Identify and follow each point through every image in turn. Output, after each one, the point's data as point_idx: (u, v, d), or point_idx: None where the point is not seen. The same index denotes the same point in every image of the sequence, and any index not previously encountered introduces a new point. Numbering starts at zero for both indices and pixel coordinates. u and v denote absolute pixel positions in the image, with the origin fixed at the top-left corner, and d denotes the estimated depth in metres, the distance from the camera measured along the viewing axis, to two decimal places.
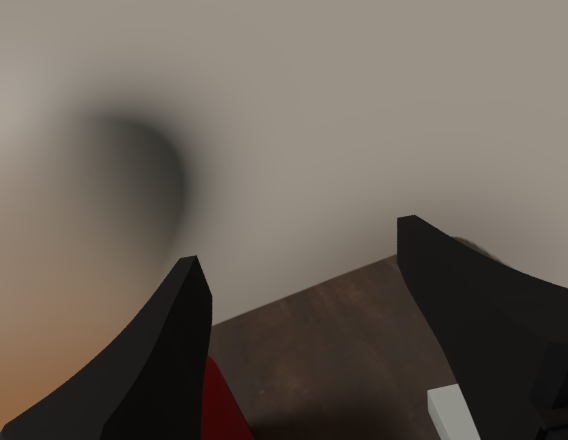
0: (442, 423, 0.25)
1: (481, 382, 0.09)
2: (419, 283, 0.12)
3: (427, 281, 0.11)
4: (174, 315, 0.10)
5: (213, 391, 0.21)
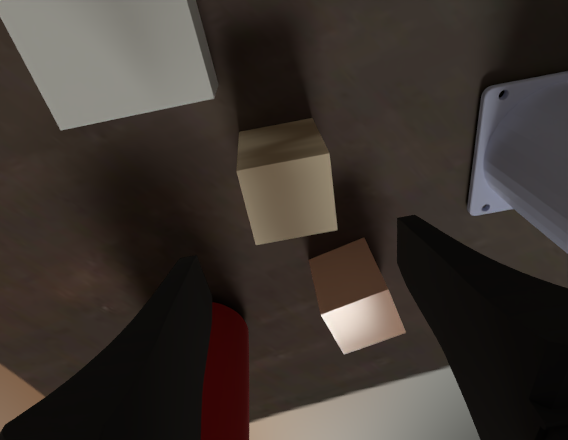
0: (113, 118, 0.16)
1: (481, 382, 0.09)
2: (419, 283, 0.12)
3: (427, 281, 0.11)
4: (174, 315, 0.10)
5: None
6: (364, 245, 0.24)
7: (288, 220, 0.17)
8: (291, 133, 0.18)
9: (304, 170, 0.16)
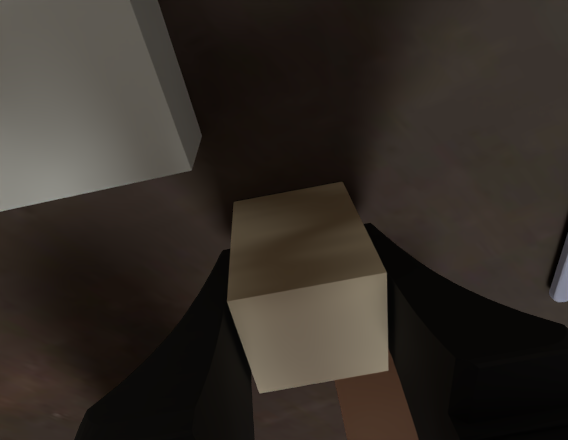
0: (26, 203, 0.10)
1: (418, 393, 0.09)
2: None
3: None
4: None
5: None
6: None
7: (311, 361, 0.11)
8: (314, 214, 0.12)
9: (342, 297, 0.09)
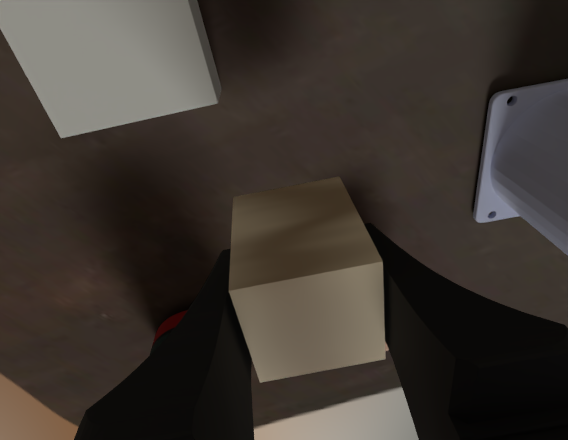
0: None
1: (418, 393, 0.09)
2: None
3: None
4: (228, 305, 0.10)
5: None
6: None
7: (310, 350, 0.11)
8: (312, 207, 0.12)
9: (340, 286, 0.10)
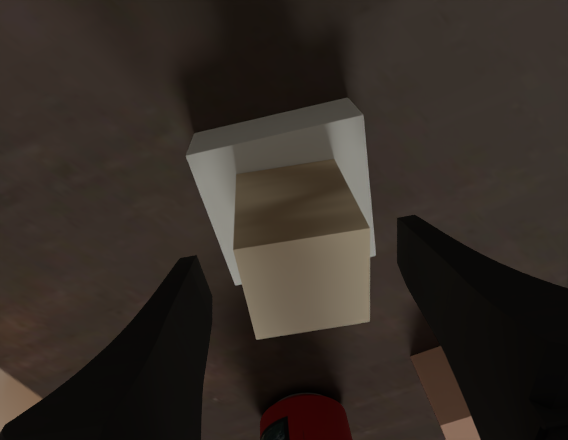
0: None
1: (481, 382, 0.09)
2: (419, 283, 0.12)
3: (427, 281, 0.11)
4: (174, 315, 0.10)
5: None
6: None
7: (303, 310, 0.12)
8: (308, 184, 0.13)
9: (332, 250, 0.11)
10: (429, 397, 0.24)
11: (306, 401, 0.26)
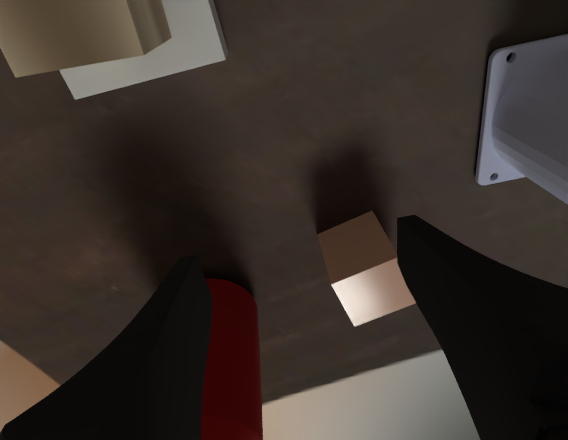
0: (126, 85, 0.16)
1: (481, 382, 0.09)
2: (419, 283, 0.12)
3: (427, 281, 0.11)
4: (174, 315, 0.10)
5: None
6: (372, 217, 0.23)
7: (55, 28, 0.11)
8: None
9: None
10: (326, 263, 0.22)
11: None
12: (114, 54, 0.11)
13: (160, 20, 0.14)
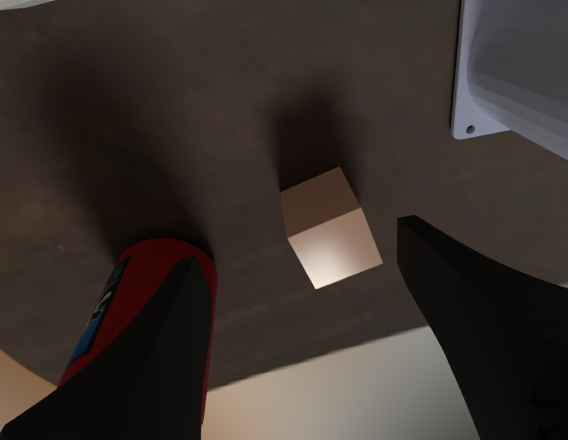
0: None
1: (481, 382, 0.09)
2: (419, 283, 0.12)
3: (427, 281, 0.11)
4: (174, 315, 0.10)
5: None
6: (339, 172, 0.22)
7: None
8: None
9: None
10: (285, 219, 0.20)
11: (158, 242, 0.23)
12: None
13: None
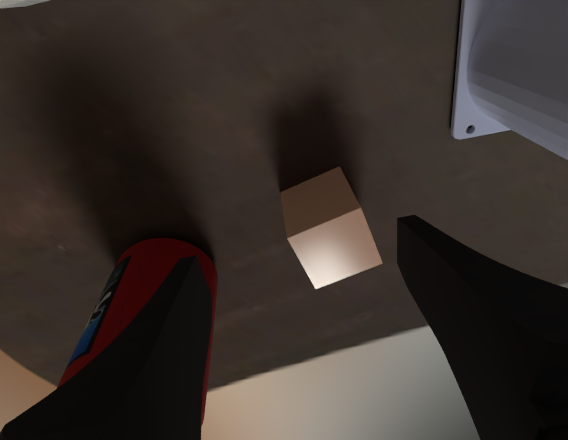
0: None
1: (481, 382, 0.09)
2: (419, 283, 0.12)
3: (427, 281, 0.11)
4: (174, 315, 0.10)
5: None
6: (339, 173, 0.22)
7: None
8: None
9: None
10: (285, 219, 0.20)
11: (158, 242, 0.23)
12: None
13: None
